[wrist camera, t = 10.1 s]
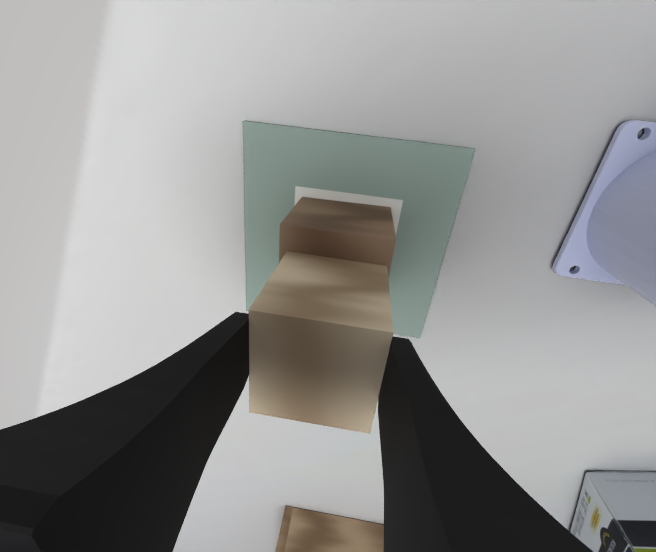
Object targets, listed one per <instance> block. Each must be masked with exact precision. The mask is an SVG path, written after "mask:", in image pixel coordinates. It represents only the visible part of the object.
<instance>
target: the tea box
mask: <svg viewBox="0 0 656 552" xmlns="http://www.w3.org/2000/svg"><path fill="white" fill-rule="evenodd" d="M570 532H571V533H572V534H573V535H574V536H575V537H577V538H578V539H579V540H580V541H581V542H582V543H584V544H585V545H586V546H587V547H588V548H590V549H591V550H592V551H593V552H656V472H645V471H595V472H587V473H586V474H585V478H584V482H583V486H582V490H581V493H580V498H579V501H578V505H577V508H576V512H575V516H574V519H573V523H572V527H571V530H570Z"/></svg>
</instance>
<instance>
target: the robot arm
mask: <svg viewBox="0 0 656 552" xmlns="http://www.w3.org/2000/svg"><path fill="white" fill-rule="evenodd" d="M643 128H644V130H645V131H644V134H643V135H642V137H640V138H639V139H638V138H637V134H638V132H639V131H640V130H641V129H643ZM573 266H576V268H575V269H574V270H572V271H569V270H570V268H571V267H573ZM552 269H553V271H554V272H555V273H556V274H557V275H559V276H563V277H570V278H577V279H585V280H592V281H599V282H606V283H613V284H620V285H626V286H628V287H629V288H630V289H632V290H633V291H635V292H636V293H637V294H639V295H640V296H642V297H643V298H645V299H646V300H647V301H649V302H650V303H652V304H653V305H654V306H656V122H648V121H639V120H629V121H626V122H624V123H622V124H621V125H620V126H619V127H618V129H617V130H616V132H615V134H614V136H613V138H612V140H611V142H610V145H609V147H608V149H607V151H606V153H605V155H604V157H603V159H602V162H601V164H600V166H599V168H598V170H597V172H596V174H595V176H594V179H593V181H592V183H591V185H590V187H589V189H588V191H587V194H586V196H585V198H584V200H583V202H582V204H581V206H580V208H579V211H578V213H577V215H576V217H575V219H574V221H573V223H572V225H571V228H570V230H569V232H568V234H567V236H566V238H565V240H564V242H563V245H562V247H561V249H560V251H559V253H558V255H557V257H556V259H555V262H554V264H553V267H552ZM248 376H249V314H246V313H239V312H235V313H234V314H232V315H231V316H229V317H228V318H226V319H225V320H224V321H222V322H221V323H219V324H218V325H216V326H215V327H214V328H212V329H211V330H209V331H208V332H207V333H205V334H204V335H202V336H201V337H199V338H198V339H196V340H195V341H193V342H192V343H190V344H189V345H187V346H186V347H184V348H183V349H181V350H179V351H178V352H176V353H174V354H173V355H171V356H170V357H168V358H166V359H165V360H163V361H162V362H160V363H158V364H156V365H155V366H153V367H151V368H149V369H147V370H145V371H144V372H142V373H140V374H138V375H136V376H134V377H132V378H130V379H128V380H126V381H124V382H122V383H120V384H118V385H116V386H113V387H111V388H109V389H107V390H104V391H102V392H100V393H98V394H95V395H93V396H91V397H89V398H86V399H84V400H82V401H79V402H77V403H74V404H72V405H69V406H67V407H64V408H62V409H59V410H56V411H54V412H51V413H48V414H45V415H43V416H40V417H37V418H35V419H32V420H29V421H26V422H23V423H20V424H17V425H14V426H11V427H8V428H4V429H1V430H0V552H172V551H173V549H174V546H175V543H176V540H177V537H178V535H179V532H180V529H181V527H182V524H183V521H184V519H185V516H186V514H187V511H188V508H189V506H190V503H191V500H192V498H193V495H194V493H195V490H196V488H197V485H198V483H199V480H200V478H201V475H202V473H203V470H204V468H205V465H206V463H207V461H208V458H209V456H210V454H211V452H212V450H213V448H214V446H215V444H216V442H217V440H218V438H219V436H220V434H221V432H222V430H223V428H224V426H225V424H226V422H227V420H228V418H229V416H230V415H231V413H232V411H233V409H234V407H235V405H236V403H237V401H238V399H239V397H240V395H241V393H242V391H243V389H244V386H245V384H246V381H247V378H248ZM378 416H379V429H380V442H381V454H382V467H383V479H384V552H593V551H592V550H591V549H590V548H588V547H587V546H586V545H585V544H584V543H582V542H581V541H580V540H579V539H578V538H577V537H575V536H574V535H573V534H572V533H571V532H569V531H568V530H567V529H566V528H565V527H563V526H562V525H561V524H560V523H559V522H558V521H557V520H556V519H554V518H553V517H552V516H551V515H550V514H549V513H548V512H547V511H546V510H545V509H544V508H543V507H541V506H540V505H539V504H538V503H537V502H536V501H535V500H534V499H533V498H532V497H531V496H530V495H529V494H528V493H527V492H525V491H524V490H523V489H522V488H521V487H520V486H519V485H518V484H517V483H516V482H515V481H514V480H513V479H512V478H511V477H510V476H509V475H508V473H507V472H506V471H505V470H504V469H503V468H502V467H501V466H500V465H499V464H498V463H497V462H496V461H495V460H494V459H493V458H492V457H491V456H490V455H489V453H488V452H487V451H486V450H485V449H484V448H483V447H482V446H481V444H480V443H479V442H478V441H477V440H476V439H475V437H474V436H473V435H472V434H471V433H470V431H469V430H468V429H467V428H466V426H465V425H464V424H463V423H462V421H461V420H460V419H459V417H458V416H457V415H456V413H455V412H454V411H453V409H452V408H451V406H450V405H449V404H448V402H447V401H446V399H445V398H444V396H443V395H442V394H441V392H440V390H439V389H438V387H437V386H436V384H435V383H434V381H433V380H432V378H431V376H430V375H429V373H428V372H427V370H426V368H425V366H424V365H423V363H422V361H421V360H420V358H419V356H418V354H417V352H416V351H415V349H414V347H413V345H412V343H411V342H410V340H409V339H405V338H399V337H393V336H392V341H391V344H390V349H389V353H388V357H387V362H386V366H385V370H384V374H383V379H382V383H381V387H380V392H379V398H378Z"/></svg>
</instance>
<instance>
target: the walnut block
mask: <svg viewBox="0 0 656 552" xmlns="http://www.w3.org/2000/svg"><path fill="white" fill-rule="evenodd" d="M395 243H396V235H395V229H394V223H393V218H392V212H391V207H386V206H377V205H369V204H360V203H352V202H343V201H335V200H326V199H318V198H309V197H301V199H300V200H299V201H298V202H297V204H296V205H295V206H294V207H293V209H292V210H291V211H290V212H289V214H288V215H287V216H286V217H285V219H284V220H283V221H282V222H281V224H280V233H279V262H280V261H281V259H282V258H283V256H284V255H285V253H286V252H294V253H301V254H308V255H315V256H322V257H329V258H336V259H343V260H350V261H357V262H364V263H371V264H378V265H385V266H387V269H388V278H389V273H390V268H391V263H392V258H393V253H394V248H395Z"/></svg>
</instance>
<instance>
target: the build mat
mask: <svg viewBox="0 0 656 552" xmlns="http://www.w3.org/2000/svg"><path fill="white" fill-rule="evenodd" d="M474 152H475V149H474V148H466V147H458V146H450V145H441V144H433V143H424V142H416V141H408V140H399V139H391V138H383V137H374V136H366V135H358V134H349V133H341V132H333V131H324V130H316V129H308V128H299V127H291V126H283V125H274V124H266V123H257V122H249V121H243V162H244V213H245V265H246V311H249V309H250V307H251V305H252V304H253V302H254V301H255V299H256V298H257V296H258V295H259V293H260V292H261V290H262V289H263V287H264V285H265V284H266V282H267V281H268V279H269V278H270V276H271V275H272V273H273V272H274V270H275V269H276V267H277V265H278V264H279V233H280V224H281V222H282V221H283V220H284V219H285V217H286V216H287V215H288V214H289V212H290V211H291V210H292V209H293V207H294V206H295V205H296V204H297V202H298V201H299V200H300V199H301V197H309V198H318V199H326V200H335V201H343V202H352V203H360V204H369V205H377V206H386V207H391V212H392V218H393V223H394V229H395V235H396V243H395V248H394V253H393V258H392V263H391V268H390V273H389V278H388V280H389V290H390V301H391V312H392V323H393V334H397V335H404V336H410V337H416V338H420V336H421V333H422V329H423V326H424V323H425V319H426V316H427V312H428V309H429V306H430V302H431V299H432V295H433V292H434V288H435V285H436V282H437V278H438V275H439V271H440V268H441V265H442V261H443V258H444V254H445V251H446V247H447V244H448V241H449V237H450V234H451V230H452V227H453V224H454V220H455V217H456V213H457V210H458V206H459V203H460V200H461V196H462V193H463V189H464V186H465V182H466V179H467V176H468V172H469V169H470V165H471V162H472V159H473V155H474Z"/></svg>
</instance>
